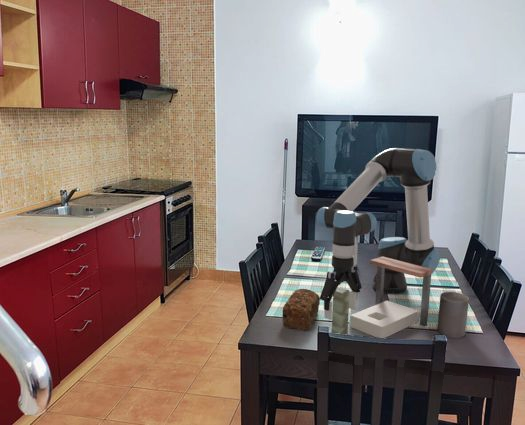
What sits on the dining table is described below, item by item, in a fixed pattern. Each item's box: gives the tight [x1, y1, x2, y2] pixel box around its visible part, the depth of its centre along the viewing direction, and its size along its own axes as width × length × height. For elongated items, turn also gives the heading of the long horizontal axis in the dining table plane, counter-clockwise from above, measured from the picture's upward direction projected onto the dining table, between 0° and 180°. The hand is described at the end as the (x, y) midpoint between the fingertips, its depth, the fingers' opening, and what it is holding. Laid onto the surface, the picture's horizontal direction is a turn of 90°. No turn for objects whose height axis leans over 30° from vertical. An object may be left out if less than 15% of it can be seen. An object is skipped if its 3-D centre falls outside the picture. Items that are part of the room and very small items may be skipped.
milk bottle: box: [353, 236, 358, 266], centre depth 264 cm, size 8×8×20 cm
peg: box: [331, 287, 351, 335], centre depth 182 cm, size 4×4×16 cm
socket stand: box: [349, 256, 434, 339], centre depth 189 cm, size 24×22×22 cm
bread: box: [281, 288, 321, 331], centre depth 193 cm, size 19×11×10 cm, turn 161°
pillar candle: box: [436, 291, 470, 339], centre depth 183 cm, size 10×10×15 cm
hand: (340, 313), depth 182 cm, fingers open, 13 cm apart
